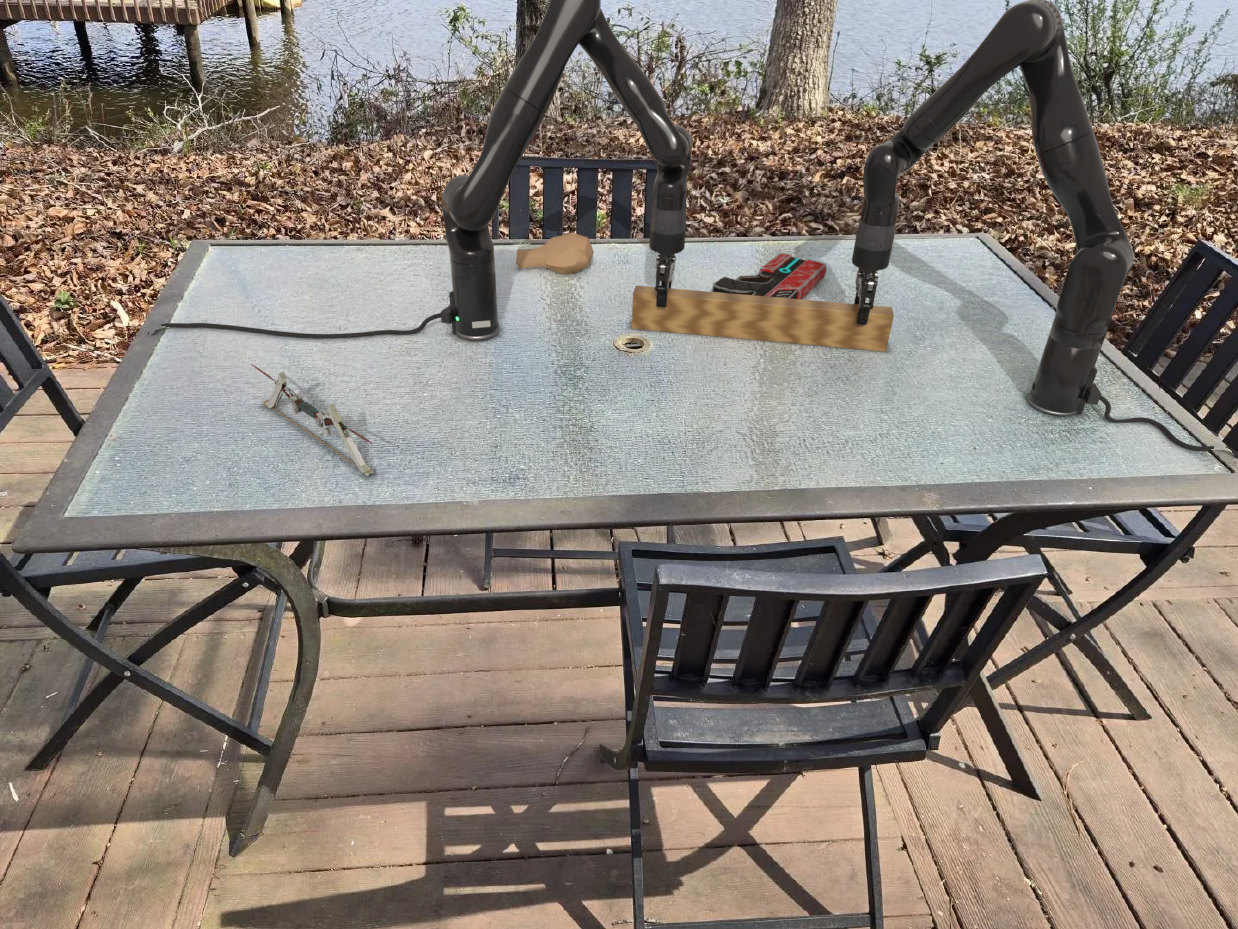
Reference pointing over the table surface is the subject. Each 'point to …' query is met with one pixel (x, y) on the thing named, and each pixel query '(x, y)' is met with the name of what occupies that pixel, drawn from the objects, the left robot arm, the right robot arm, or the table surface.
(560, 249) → the squash
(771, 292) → the gun
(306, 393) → the table surface
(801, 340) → the post
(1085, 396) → the right robot arm
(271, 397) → the bow
